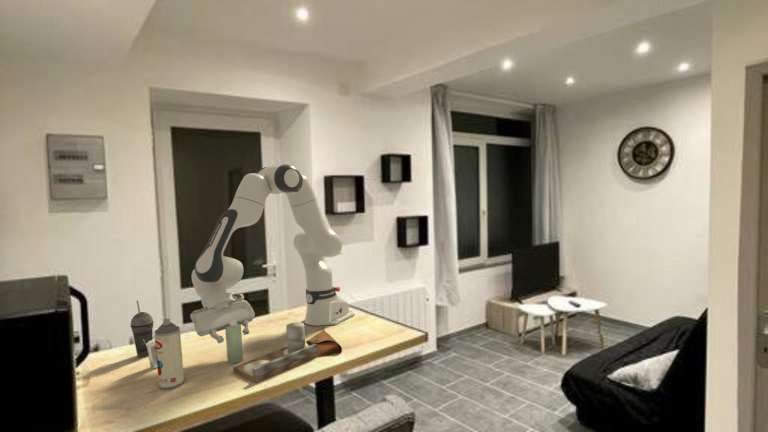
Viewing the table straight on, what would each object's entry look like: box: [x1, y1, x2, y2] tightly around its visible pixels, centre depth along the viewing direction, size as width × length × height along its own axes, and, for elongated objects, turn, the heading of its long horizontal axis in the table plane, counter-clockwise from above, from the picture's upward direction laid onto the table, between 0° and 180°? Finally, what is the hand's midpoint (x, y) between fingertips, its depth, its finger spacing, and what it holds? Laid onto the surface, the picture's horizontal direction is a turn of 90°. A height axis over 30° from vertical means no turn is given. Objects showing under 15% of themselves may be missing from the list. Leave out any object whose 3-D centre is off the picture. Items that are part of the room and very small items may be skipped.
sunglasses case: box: [305, 329, 343, 358], centre depth 153 cm, size 18×7×7 cm, turn 27°
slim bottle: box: [224, 319, 244, 365], centre depth 143 cm, size 5×5×14 cm
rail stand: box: [232, 321, 319, 383], centre depth 140 cm, size 24×13×11 cm, turn 139°
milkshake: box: [144, 338, 157, 370], centre depth 141 cm, size 4×5×10 cm
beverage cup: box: [130, 300, 155, 359], centre depth 151 cm, size 7×7×20 cm
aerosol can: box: [154, 318, 185, 391], centre depth 127 cm, size 7×7×20 cm
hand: (234, 337), depth 143 cm, fingers open, 8 cm apart
